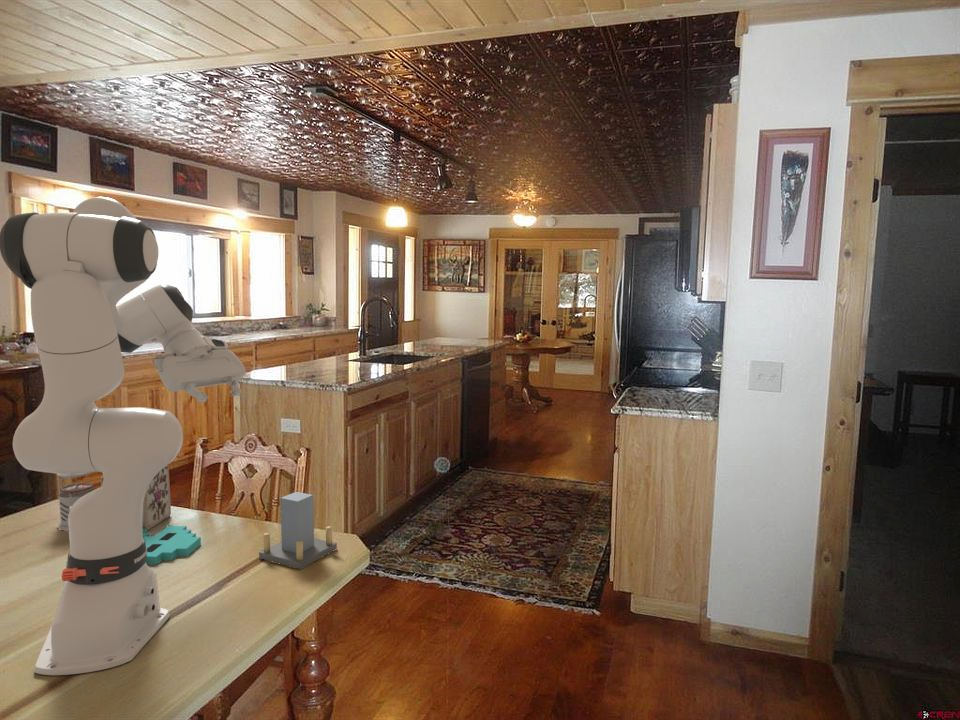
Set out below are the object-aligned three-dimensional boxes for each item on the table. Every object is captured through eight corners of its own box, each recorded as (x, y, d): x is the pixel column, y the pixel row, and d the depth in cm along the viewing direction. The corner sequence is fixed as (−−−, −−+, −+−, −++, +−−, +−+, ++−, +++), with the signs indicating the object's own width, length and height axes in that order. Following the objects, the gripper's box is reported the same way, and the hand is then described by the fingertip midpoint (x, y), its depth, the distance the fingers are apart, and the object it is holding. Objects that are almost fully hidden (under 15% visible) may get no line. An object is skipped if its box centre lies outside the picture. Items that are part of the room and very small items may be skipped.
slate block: (298, 553, 138) (297, 501, 137) (281, 549, 141) (280, 497, 139) (314, 545, 143) (313, 494, 142) (297, 541, 145) (296, 491, 144)
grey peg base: (336, 549, 145) (336, 526, 144) (300, 569, 134) (299, 544, 133) (297, 540, 150) (296, 517, 149) (259, 558, 139) (258, 534, 139)
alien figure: (80, 569, 134) (171, 571, 134) (79, 559, 134) (171, 561, 134) (133, 533, 154) (213, 535, 154) (133, 525, 154) (213, 526, 153)
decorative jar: (147, 532, 154) (143, 461, 152) (101, 531, 155) (97, 460, 153) (172, 515, 166) (169, 448, 164) (129, 514, 167) (126, 448, 165)
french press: (67, 534, 153) (60, 433, 150) (45, 524, 159) (38, 427, 156) (109, 521, 161) (103, 426, 158) (86, 513, 167) (81, 421, 164)
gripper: (155, 346, 135) (188, 395, 131) (231, 340, 153) (261, 383, 149) (142, 366, 137) (174, 414, 134) (219, 357, 155) (248, 399, 152)
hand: (221, 397), depth 142 cm, fingers open, 8 cm apart
